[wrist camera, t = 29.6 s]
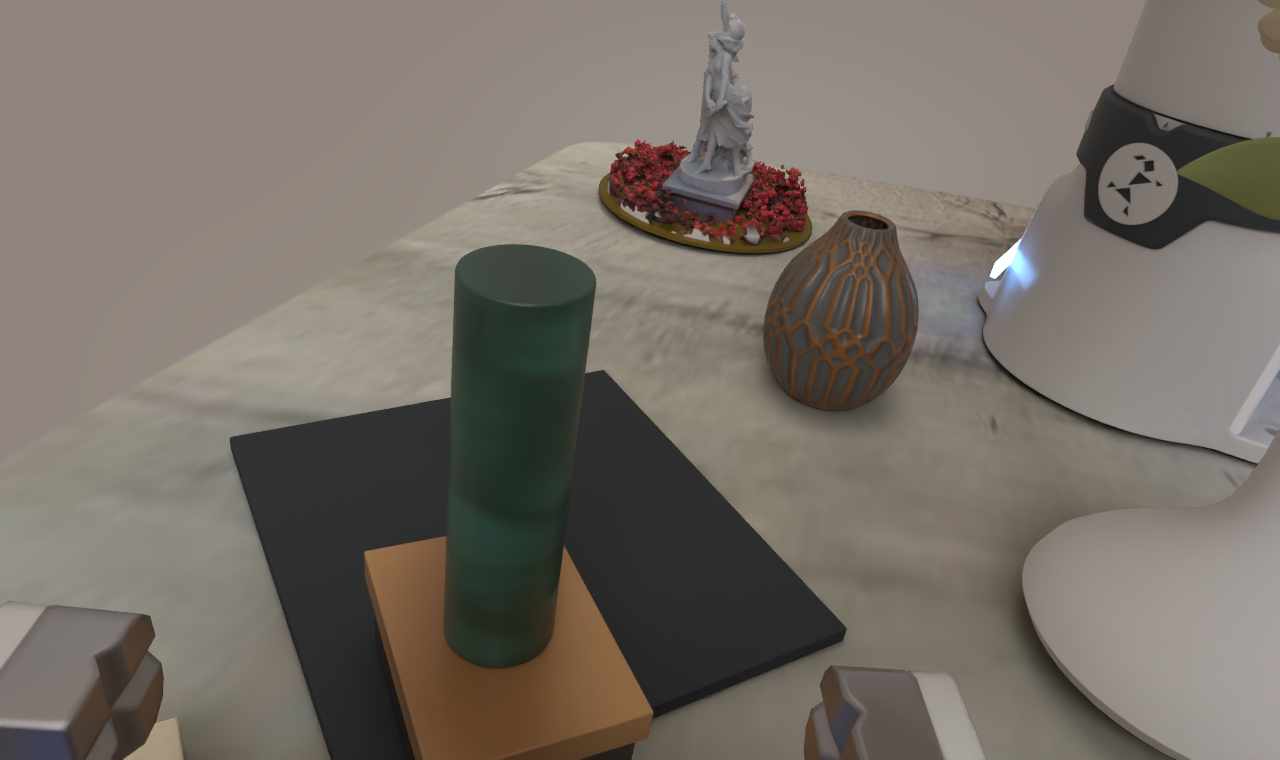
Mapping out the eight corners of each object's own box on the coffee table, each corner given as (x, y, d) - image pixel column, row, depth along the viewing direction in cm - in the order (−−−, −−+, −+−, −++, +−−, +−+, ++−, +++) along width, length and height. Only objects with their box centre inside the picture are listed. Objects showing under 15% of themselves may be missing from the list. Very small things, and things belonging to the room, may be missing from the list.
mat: (602, 380, 42) (604, 369, 42) (843, 641, 30) (848, 628, 30) (230, 449, 34) (229, 436, 34) (356, 840, 22) (356, 825, 22)
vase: (759, 340, 47) (797, 180, 43) (891, 371, 46) (944, 211, 42) (742, 407, 41) (783, 230, 37) (892, 444, 41) (953, 267, 36)
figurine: (568, 212, 57) (601, -28, 50) (632, 154, 70) (666, -44, 63) (797, 274, 55) (866, 32, 48) (821, 202, 68) (879, 3, 61)
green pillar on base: (539, 599, 29) (583, 199, 22) (635, 800, 23) (734, 350, 16) (366, 639, 27) (353, 205, 20) (426, 872, 21) (438, 385, 14)
